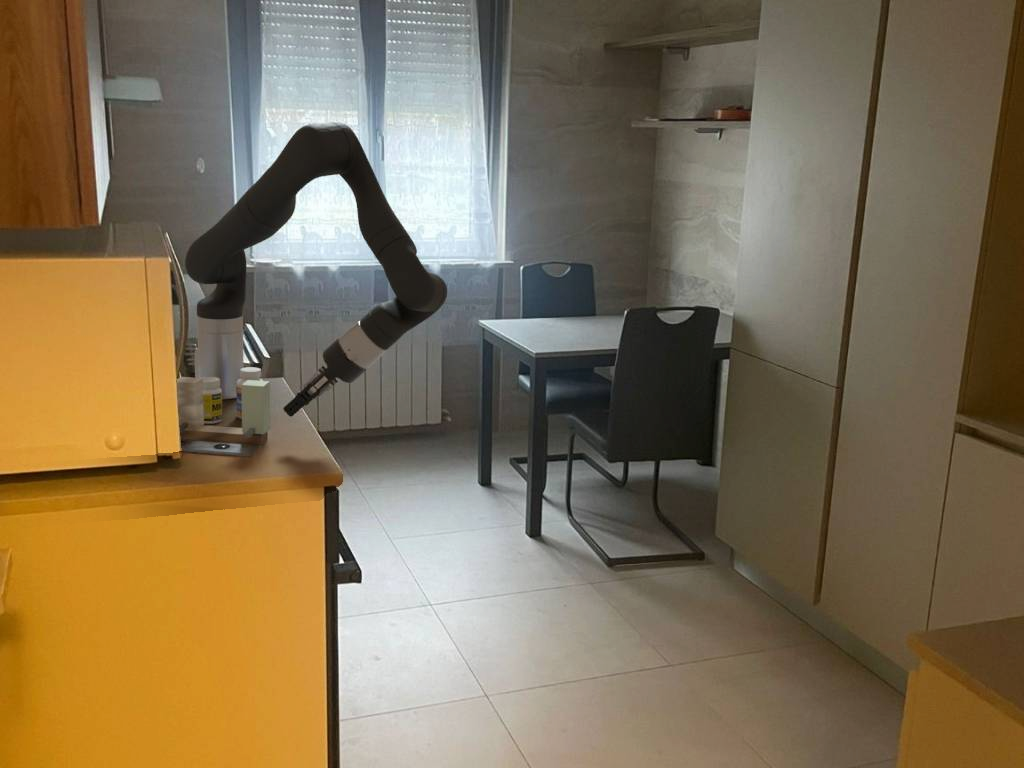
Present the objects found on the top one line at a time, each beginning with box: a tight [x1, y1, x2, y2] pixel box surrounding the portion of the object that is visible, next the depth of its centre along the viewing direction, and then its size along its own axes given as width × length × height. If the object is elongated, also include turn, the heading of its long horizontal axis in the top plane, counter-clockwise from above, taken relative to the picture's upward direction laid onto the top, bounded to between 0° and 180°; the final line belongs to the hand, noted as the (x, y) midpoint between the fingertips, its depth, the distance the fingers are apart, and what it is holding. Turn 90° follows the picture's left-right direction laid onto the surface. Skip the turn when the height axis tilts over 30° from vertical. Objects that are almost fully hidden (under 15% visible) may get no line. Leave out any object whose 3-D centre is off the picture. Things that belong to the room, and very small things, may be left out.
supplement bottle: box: [203, 377, 223, 425], centre depth 187 cm, size 5×5×8 cm
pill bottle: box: [236, 366, 264, 420], centre depth 191 cm, size 5×5×10 cm
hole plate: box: [181, 439, 261, 458], centre depth 171 cm, size 16×5×1 cm, turn 86°
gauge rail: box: [176, 376, 268, 447], centre depth 174 cm, size 16×7×11 cm, turn 86°
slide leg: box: [241, 380, 271, 438], centre depth 173 cm, size 4×7×9 cm, turn 176°
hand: (287, 412), depth 175 cm, fingers closed
